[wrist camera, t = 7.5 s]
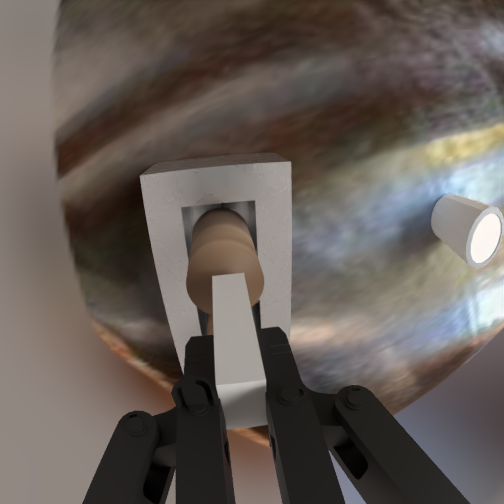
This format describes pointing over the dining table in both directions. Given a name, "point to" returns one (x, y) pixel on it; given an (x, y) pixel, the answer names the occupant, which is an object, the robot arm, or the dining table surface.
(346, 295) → the dining table surface
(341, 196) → the dining table surface
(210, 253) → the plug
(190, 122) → the dining table surface
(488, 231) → the white cup
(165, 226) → the jig
